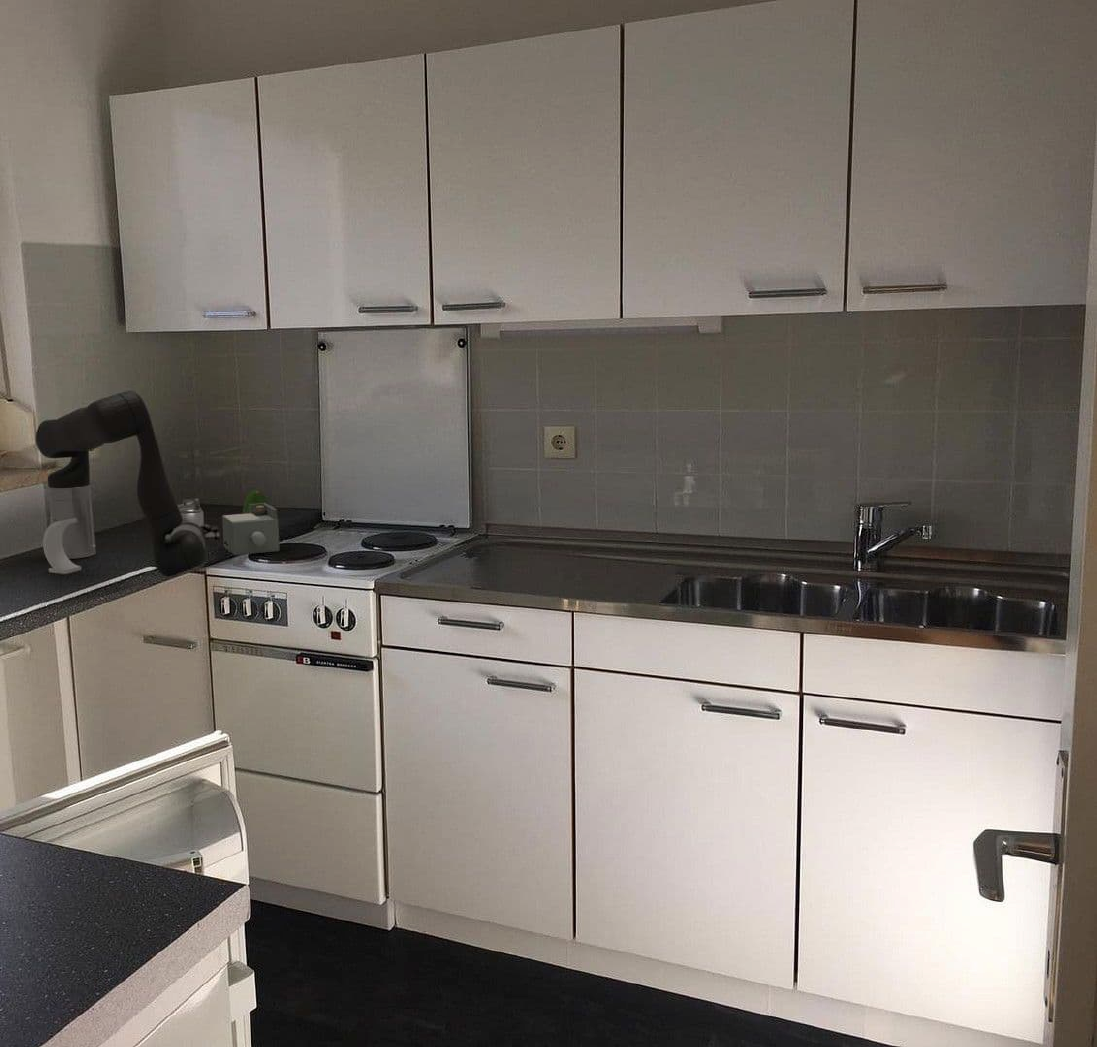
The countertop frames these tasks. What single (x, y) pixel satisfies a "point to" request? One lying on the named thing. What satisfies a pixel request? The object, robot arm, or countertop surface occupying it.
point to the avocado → (254, 500)
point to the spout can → (193, 514)
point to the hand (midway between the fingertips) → (192, 528)
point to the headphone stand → (58, 548)
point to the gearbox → (252, 530)
